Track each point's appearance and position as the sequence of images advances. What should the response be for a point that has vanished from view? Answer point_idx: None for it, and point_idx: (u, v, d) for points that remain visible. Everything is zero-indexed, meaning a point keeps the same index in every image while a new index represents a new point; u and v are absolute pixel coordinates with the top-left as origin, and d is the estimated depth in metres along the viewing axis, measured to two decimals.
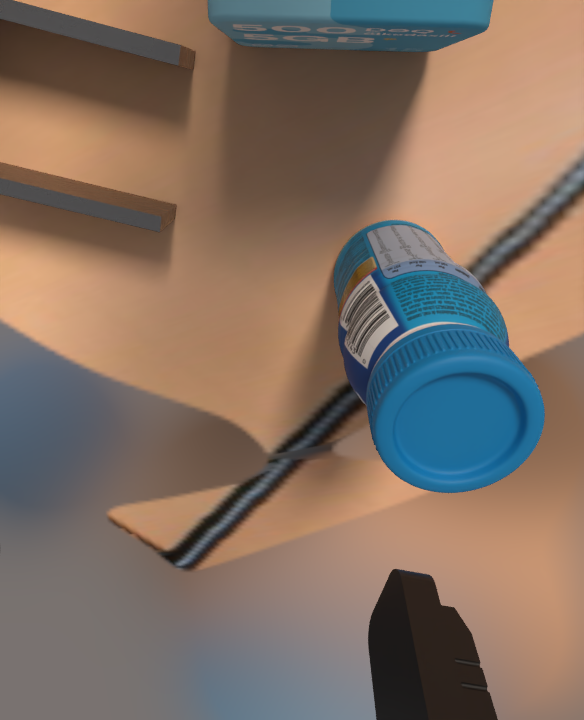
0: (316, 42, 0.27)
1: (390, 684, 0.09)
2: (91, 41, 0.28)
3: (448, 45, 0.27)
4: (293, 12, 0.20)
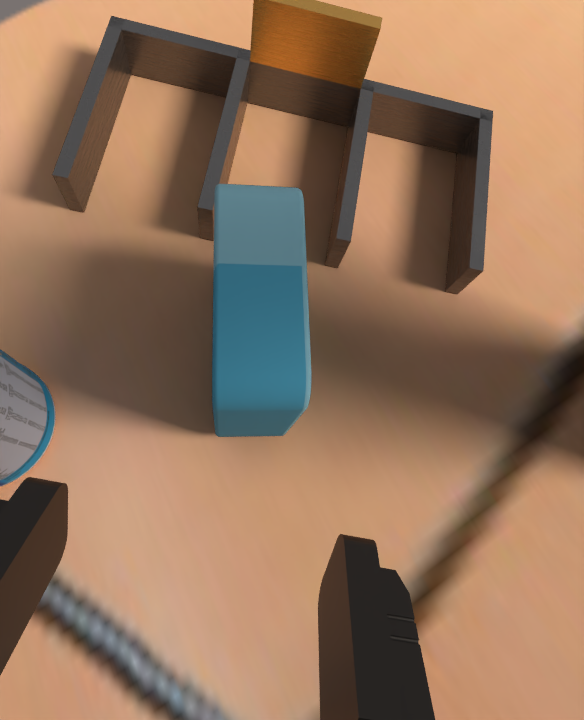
0: None
1: (330, 640, 0.10)
2: (213, 147, 0.35)
3: None
4: (220, 235, 0.24)
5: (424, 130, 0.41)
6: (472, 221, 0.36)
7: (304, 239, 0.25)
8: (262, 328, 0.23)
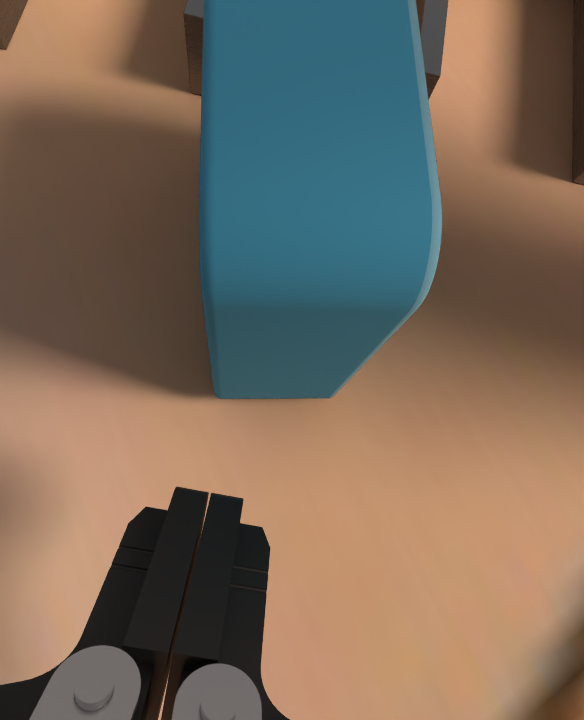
0: None
1: None
2: None
3: (211, 368, 0.15)
4: None
5: None
6: None
7: None
8: (321, 102, 0.10)
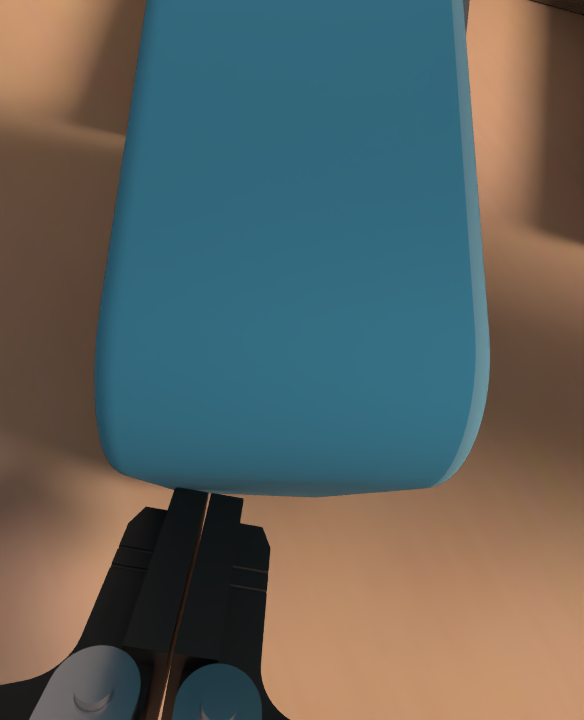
0: None
1: None
2: None
3: None
4: None
5: None
6: None
7: None
8: (311, 173, 0.06)
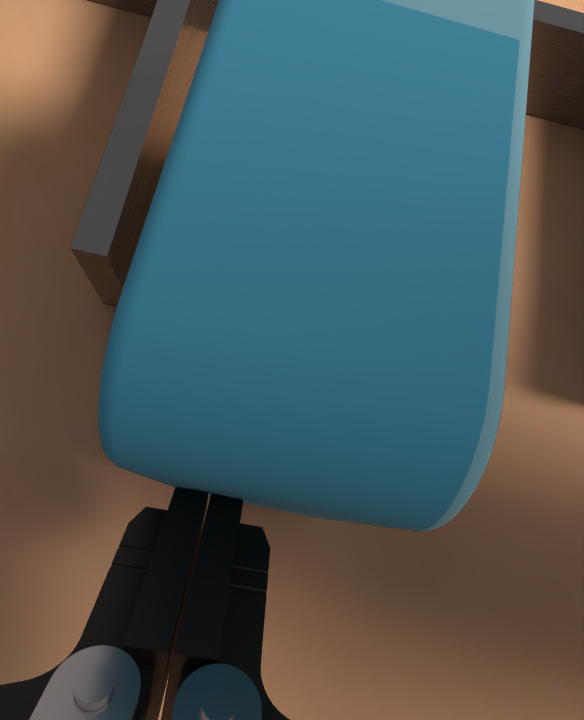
0: None
1: None
2: (121, 108, 0.15)
3: None
4: None
5: (555, 88, 0.21)
6: None
7: None
8: (348, 198, 0.06)
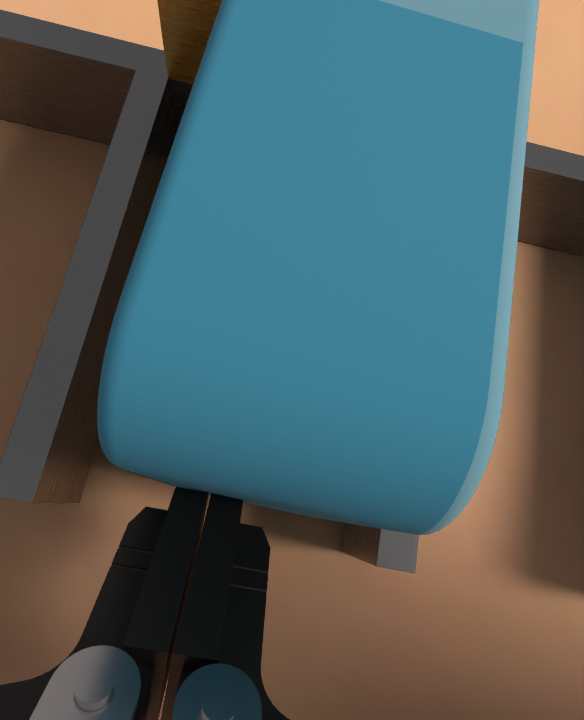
0: None
1: None
2: (55, 309, 0.13)
3: None
4: None
5: (554, 224, 0.19)
6: None
7: None
8: (349, 200, 0.06)
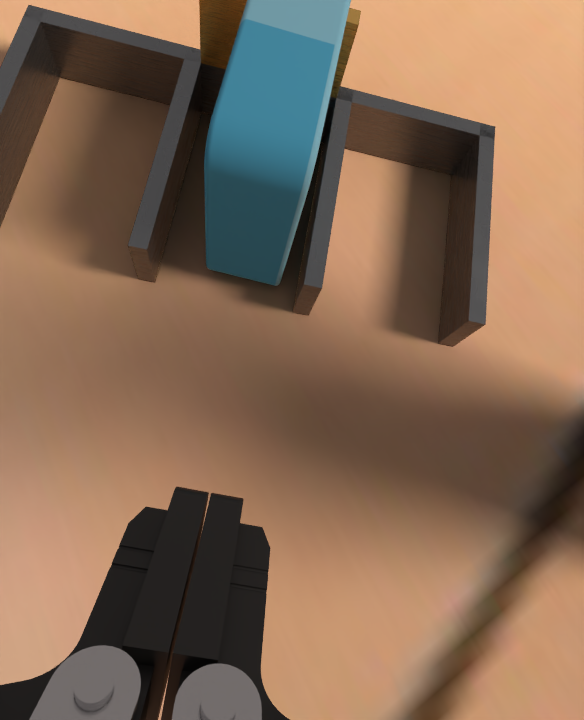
0: None
1: None
2: (151, 170, 0.28)
3: (205, 233, 0.27)
4: None
5: (413, 148, 0.34)
6: (471, 262, 0.29)
7: (344, 23, 0.23)
8: (276, 89, 0.21)
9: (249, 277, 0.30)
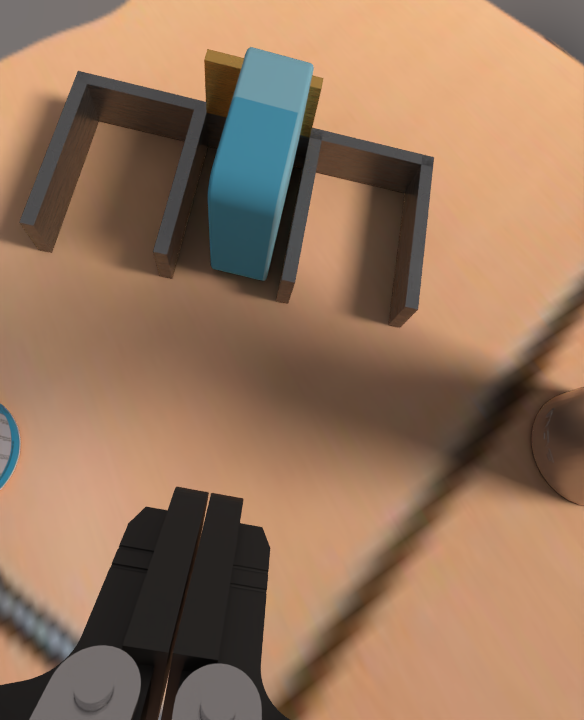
0: None
1: None
2: (170, 195, 0.38)
3: None
4: (242, 78, 0.32)
5: (372, 173, 0.44)
6: (410, 262, 0.39)
7: (305, 96, 0.32)
8: (256, 146, 0.31)
9: (243, 274, 0.40)
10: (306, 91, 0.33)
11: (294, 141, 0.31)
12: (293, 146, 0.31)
